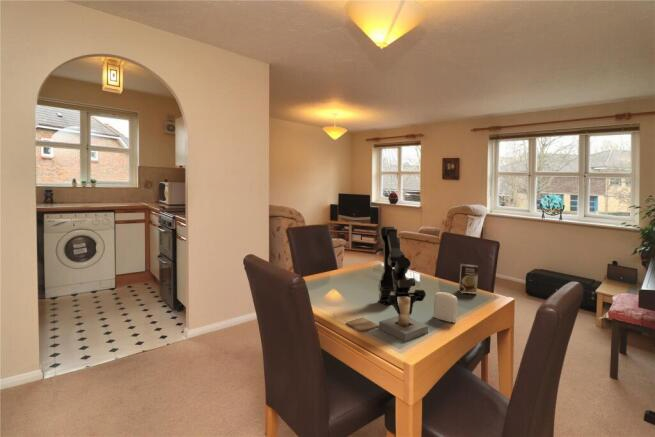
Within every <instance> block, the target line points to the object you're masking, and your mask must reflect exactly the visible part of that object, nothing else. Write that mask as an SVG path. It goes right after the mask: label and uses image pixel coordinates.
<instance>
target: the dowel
mask: <svg viewBox="0 0 655 437" xmlns="http://www.w3.org/2000/svg"><path fill="white" fill-rule="evenodd" d="M398 298H399V300H398V305H399V310H400V314H398V313H397V316H398V325H400V326H402V327H407V326H409V318H410V297H407V296H400V297H398Z"/></svg>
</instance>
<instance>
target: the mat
mask: <svg viewBox="0 0 655 437" xmlns="http://www.w3.org/2000/svg"><path fill="white" fill-rule="evenodd" d="M346 324H347V326H348V325H349V326H348V327H350V328H352V329H354V330H355V329H356V331H357V330H358V331H357V332H359V331H360V333H361V332H362V333H364V332H368V331H370V330H371V331H372V330H375V329H377V328H378V329H379V324H378V323H375V322H374V321H371V320H369V319H366V317H359V318H355V319H352V320H348V321H346V322H345V325H346Z"/></svg>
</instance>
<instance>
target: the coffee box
mask: <svg viewBox="0 0 655 437" xmlns="http://www.w3.org/2000/svg"><path fill="white" fill-rule="evenodd" d="M478 277H479V266H478V265H477V264H467V263H466V264H465V263H460V271H459V285H458V292H459V291H461V292H476V293H477V290H478V289H477V288H478V279H479V278H478Z"/></svg>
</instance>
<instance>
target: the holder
mask: <svg viewBox="0 0 655 437" xmlns="http://www.w3.org/2000/svg"><path fill="white" fill-rule="evenodd" d="M378 325H379V327H378V329H379V330H382V331H383V332H386V333H388V334H389V335H391V336H394V337H395V338H398V339H399V340H402V341H403V342H407V341H410V340H413V339H415V338H417V337H420V336H423V335H425V334H428V331H429V325H428V324H425V323H422V322H420V321H417V320H415V319H412V317H411V318H410V317H409V326H407V327H402V326H400V325H398V315H396V316H393V317H389V318H386V319H382V320H379V321H378Z"/></svg>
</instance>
